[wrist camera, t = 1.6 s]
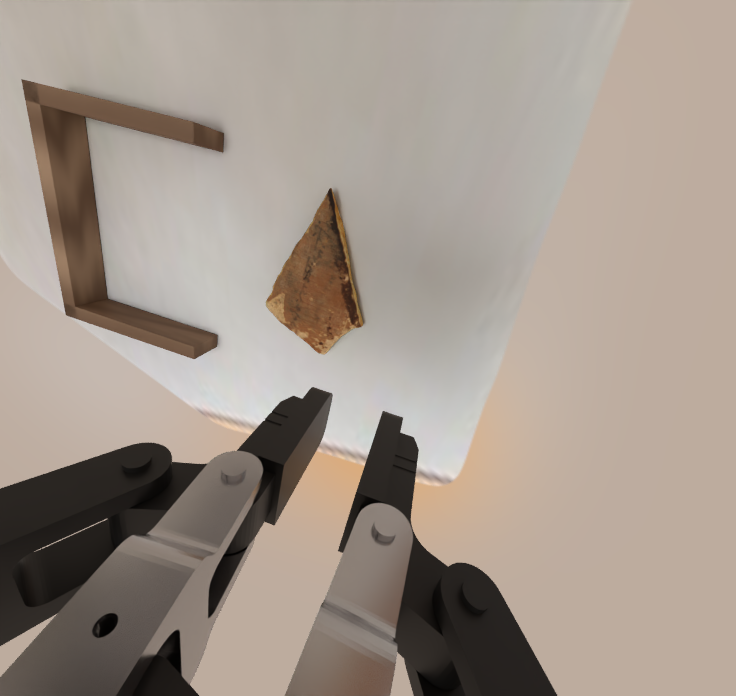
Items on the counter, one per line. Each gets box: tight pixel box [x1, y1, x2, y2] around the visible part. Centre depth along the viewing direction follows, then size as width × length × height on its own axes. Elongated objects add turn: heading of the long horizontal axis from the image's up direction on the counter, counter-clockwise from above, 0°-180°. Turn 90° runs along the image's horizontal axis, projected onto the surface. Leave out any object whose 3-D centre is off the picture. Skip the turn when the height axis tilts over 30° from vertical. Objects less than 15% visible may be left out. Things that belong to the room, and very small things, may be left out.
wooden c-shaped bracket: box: [22, 80, 224, 359], centre depth 26 cm, size 17×13×3 cm
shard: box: [266, 188, 363, 355], centre depth 25 cm, size 11×8×2 cm
